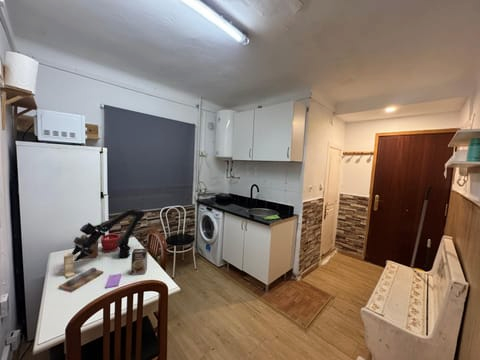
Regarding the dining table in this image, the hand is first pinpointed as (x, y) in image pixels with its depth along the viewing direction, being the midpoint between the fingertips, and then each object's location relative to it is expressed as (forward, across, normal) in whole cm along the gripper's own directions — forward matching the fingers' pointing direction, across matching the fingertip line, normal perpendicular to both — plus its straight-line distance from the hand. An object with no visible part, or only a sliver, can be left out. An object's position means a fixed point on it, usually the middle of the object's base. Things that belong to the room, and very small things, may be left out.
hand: (72, 258), depth 128 cm
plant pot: (-14, -18, +27) cm, 36 cm away
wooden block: (-3, -16, +16) cm, 23 cm away
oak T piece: (+8, 0, +5) cm, 10 cm away
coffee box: (-14, +31, +27) cm, 44 cm away
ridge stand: (+6, +15, +8) cm, 18 cm away
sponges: (-2, +30, +17) cm, 34 cm away
